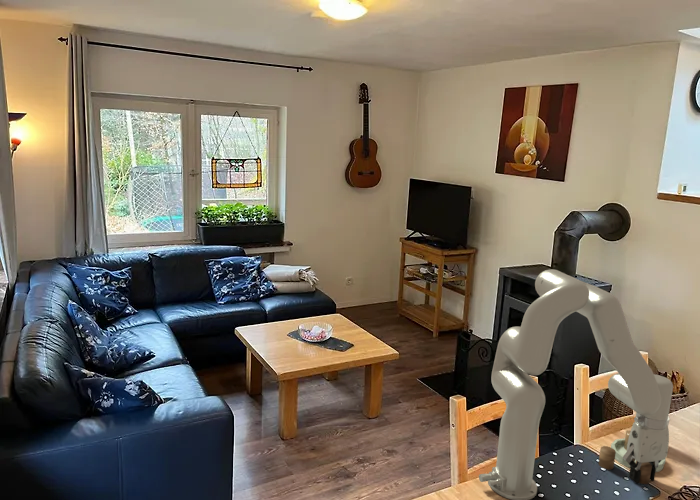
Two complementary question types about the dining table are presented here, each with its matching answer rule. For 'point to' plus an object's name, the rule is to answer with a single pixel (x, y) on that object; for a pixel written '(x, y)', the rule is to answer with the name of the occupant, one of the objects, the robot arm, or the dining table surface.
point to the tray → (621, 449)
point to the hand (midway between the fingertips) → (641, 478)
